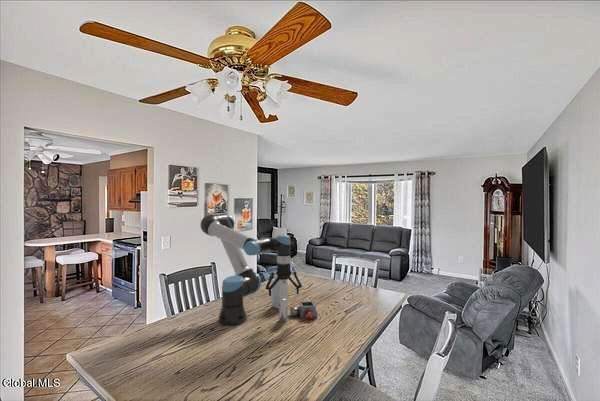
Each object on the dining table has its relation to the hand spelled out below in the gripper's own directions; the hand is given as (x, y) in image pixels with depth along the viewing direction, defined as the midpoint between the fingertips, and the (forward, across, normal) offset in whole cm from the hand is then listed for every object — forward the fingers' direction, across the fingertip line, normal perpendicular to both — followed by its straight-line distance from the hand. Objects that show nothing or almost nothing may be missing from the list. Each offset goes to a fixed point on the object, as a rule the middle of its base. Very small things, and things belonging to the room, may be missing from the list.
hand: (283, 300), depth 160 cm
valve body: (+11, +12, +5) cm, 17 cm away
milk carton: (+11, 0, +22) cm, 25 cm away
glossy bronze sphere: (+11, +19, +14) cm, 26 cm away
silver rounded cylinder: (+11, 0, 0) cm, 11 cm away
